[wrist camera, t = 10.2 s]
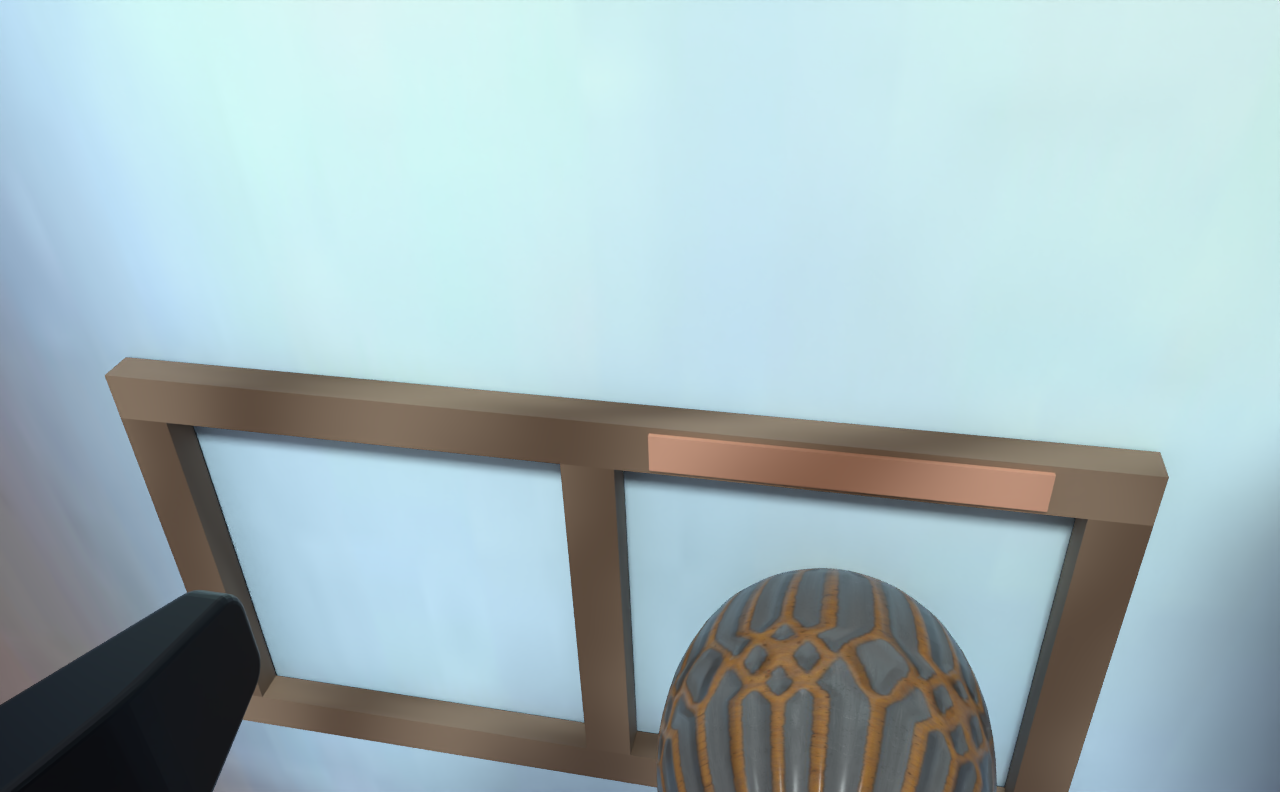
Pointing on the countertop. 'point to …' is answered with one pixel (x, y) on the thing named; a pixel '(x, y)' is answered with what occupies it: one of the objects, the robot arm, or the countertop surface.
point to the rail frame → (597, 541)
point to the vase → (824, 695)
